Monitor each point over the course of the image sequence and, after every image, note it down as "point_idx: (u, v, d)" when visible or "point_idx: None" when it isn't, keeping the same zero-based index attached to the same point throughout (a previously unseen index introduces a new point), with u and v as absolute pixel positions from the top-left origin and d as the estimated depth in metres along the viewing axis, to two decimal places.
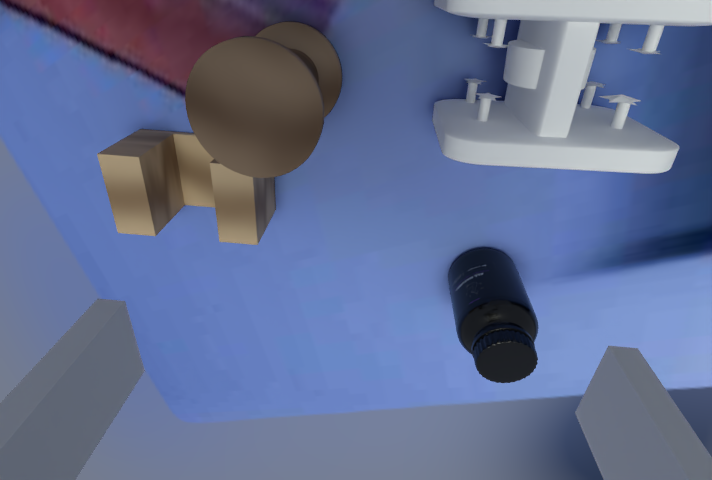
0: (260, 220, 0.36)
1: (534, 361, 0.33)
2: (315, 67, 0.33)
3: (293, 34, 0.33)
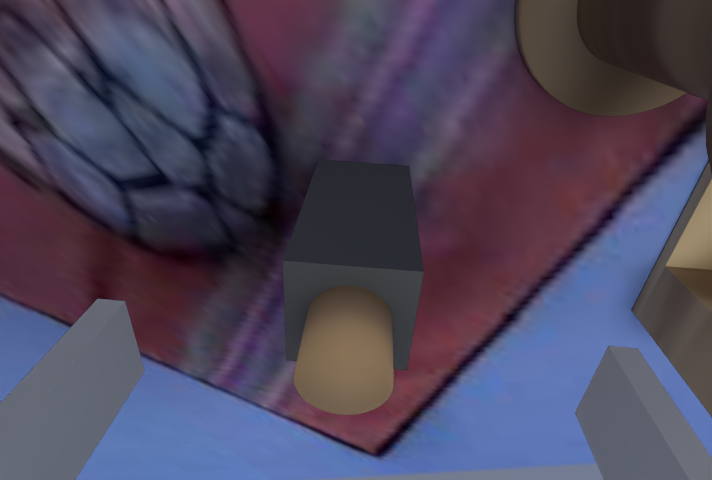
0: None
1: None
2: None
3: None
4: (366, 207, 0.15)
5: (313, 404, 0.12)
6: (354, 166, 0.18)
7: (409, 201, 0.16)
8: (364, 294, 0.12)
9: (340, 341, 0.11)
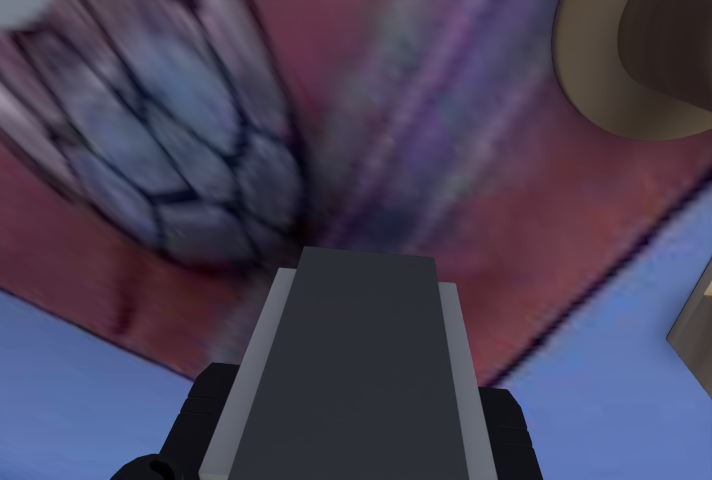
0: None
1: None
2: None
3: (592, 6, 0.14)
4: (373, 357, 0.09)
5: None
6: (355, 259, 0.13)
7: (440, 341, 0.10)
8: None
9: None
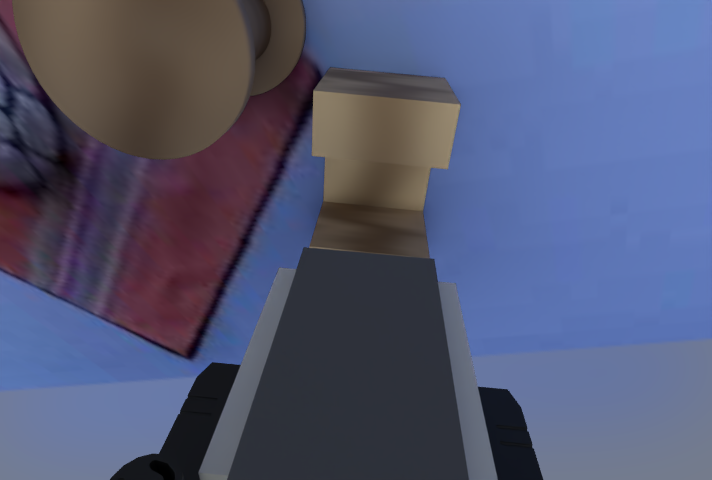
0: (424, 95, 0.21)
1: None
2: None
3: None
4: (372, 360, 0.09)
5: None
6: (355, 261, 0.13)
7: (440, 342, 0.10)
8: None
9: None
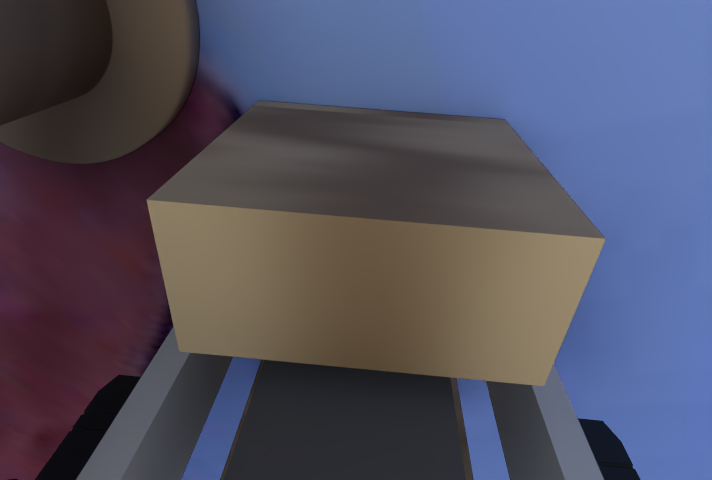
0: (479, 193, 0.08)
1: None
2: None
3: None
4: None
5: None
6: None
7: None
8: None
9: None
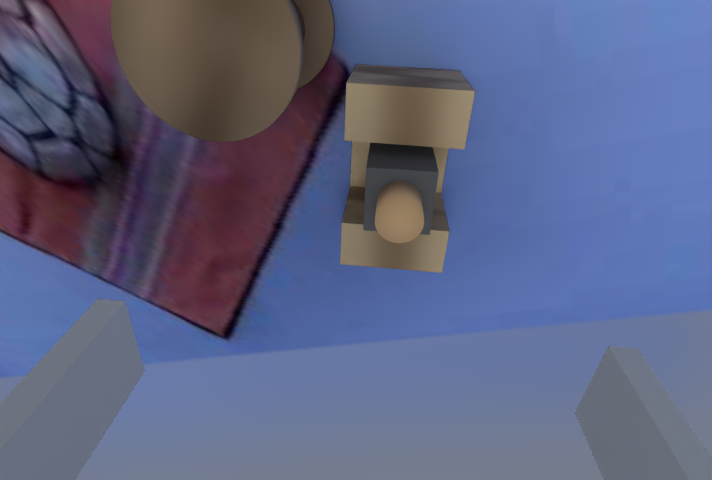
0: (442, 84, 0.24)
1: None
2: None
3: None
4: (406, 148, 0.27)
5: (383, 237, 0.23)
6: None
7: None
8: (408, 185, 0.24)
9: (398, 198, 0.22)
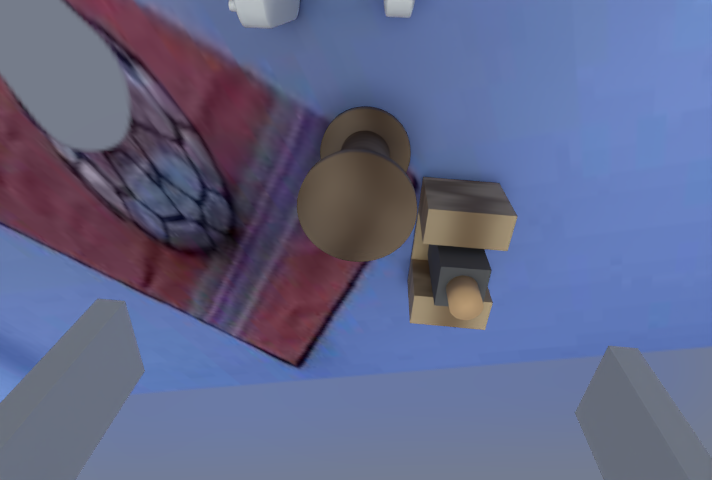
0: (493, 207, 0.35)
1: None
2: (354, 133, 0.37)
3: (329, 150, 0.38)
4: None
5: (454, 316, 0.34)
6: None
7: None
8: (470, 278, 0.34)
9: (467, 292, 0.33)
